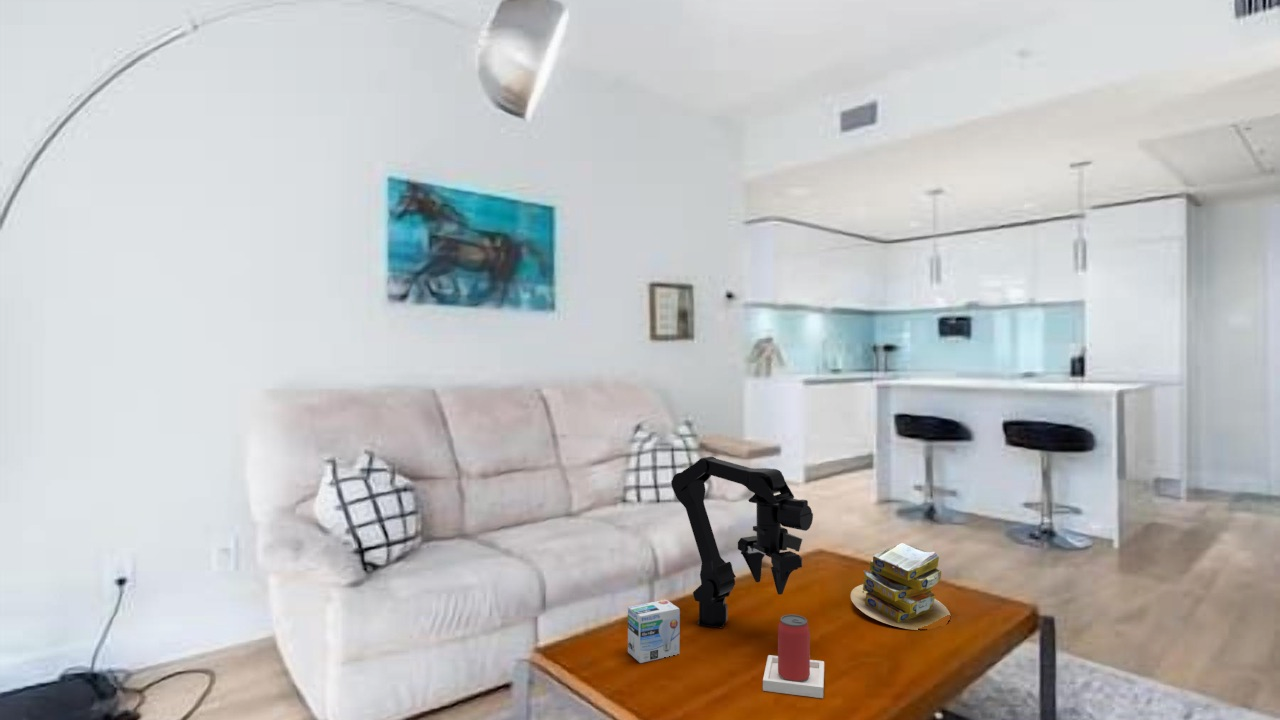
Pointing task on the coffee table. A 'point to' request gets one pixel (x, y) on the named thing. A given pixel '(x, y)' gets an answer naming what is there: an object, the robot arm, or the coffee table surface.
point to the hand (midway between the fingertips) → (768, 588)
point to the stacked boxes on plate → (901, 588)
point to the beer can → (793, 648)
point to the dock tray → (804, 688)
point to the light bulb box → (653, 630)
